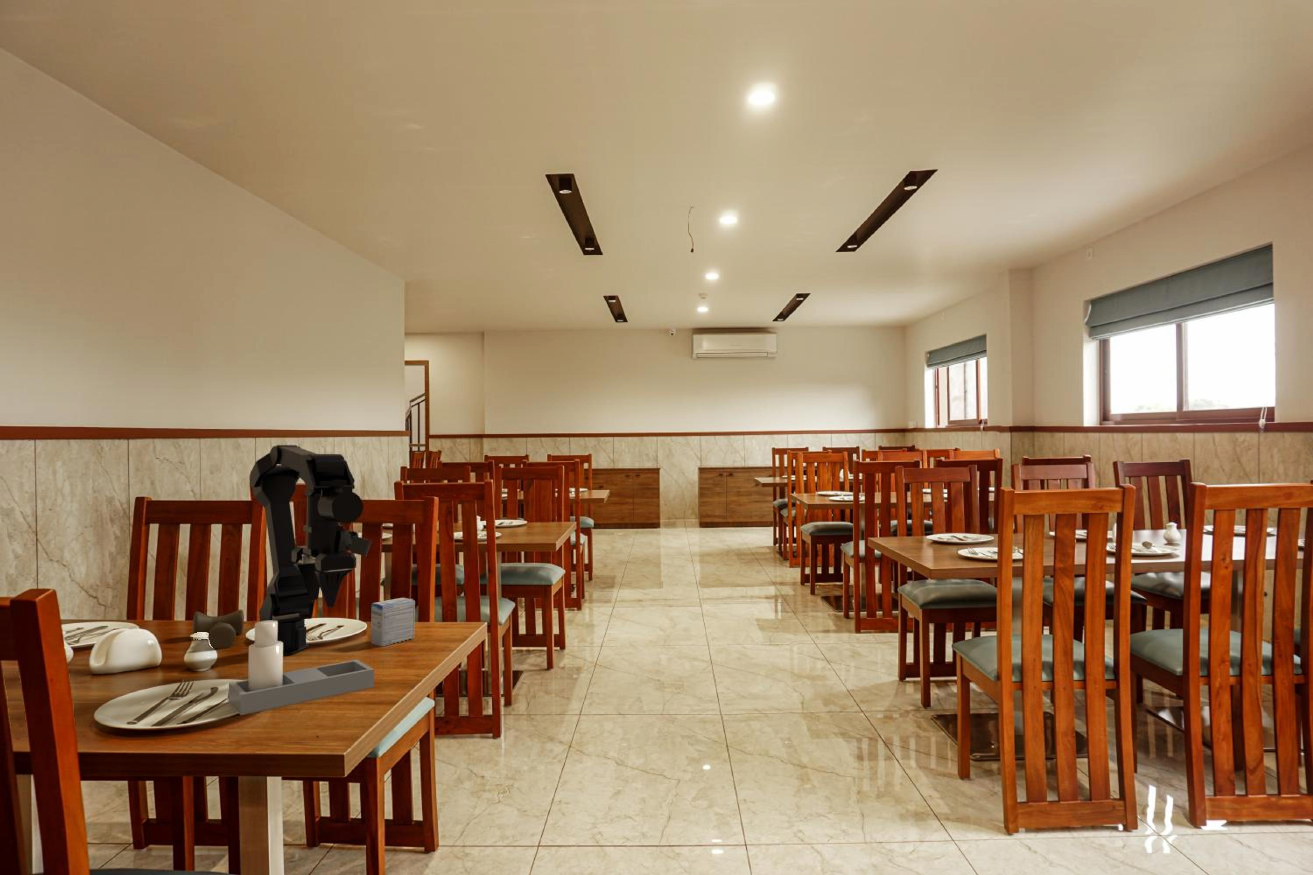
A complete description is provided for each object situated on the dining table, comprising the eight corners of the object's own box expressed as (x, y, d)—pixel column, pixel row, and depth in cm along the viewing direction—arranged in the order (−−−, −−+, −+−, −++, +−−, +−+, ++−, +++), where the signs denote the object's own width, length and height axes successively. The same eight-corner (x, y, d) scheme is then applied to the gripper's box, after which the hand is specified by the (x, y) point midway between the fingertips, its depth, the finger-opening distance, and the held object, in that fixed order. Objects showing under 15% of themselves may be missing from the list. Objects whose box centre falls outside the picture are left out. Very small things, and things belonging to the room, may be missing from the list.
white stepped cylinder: (241, 703, 114) (242, 624, 114) (269, 694, 118) (270, 618, 119) (261, 708, 112) (262, 627, 112) (289, 699, 116) (289, 620, 117)
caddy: (228, 705, 115) (228, 682, 115) (356, 679, 129) (357, 659, 129) (240, 718, 109) (240, 694, 109) (373, 690, 123) (374, 669, 123)
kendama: (193, 655, 146) (191, 632, 163) (248, 650, 152) (240, 628, 168) (195, 625, 147) (193, 606, 163) (249, 621, 152) (242, 602, 169)
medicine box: (402, 636, 160) (402, 597, 160) (414, 639, 157) (415, 599, 158) (370, 643, 154) (370, 602, 154) (382, 647, 151) (383, 605, 151)
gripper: (385, 520, 135) (384, 604, 135) (349, 515, 149) (348, 591, 149) (322, 524, 128) (321, 613, 127) (291, 518, 142) (290, 598, 141)
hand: (322, 603), depth 136 cm, fingers open, 9 cm apart
